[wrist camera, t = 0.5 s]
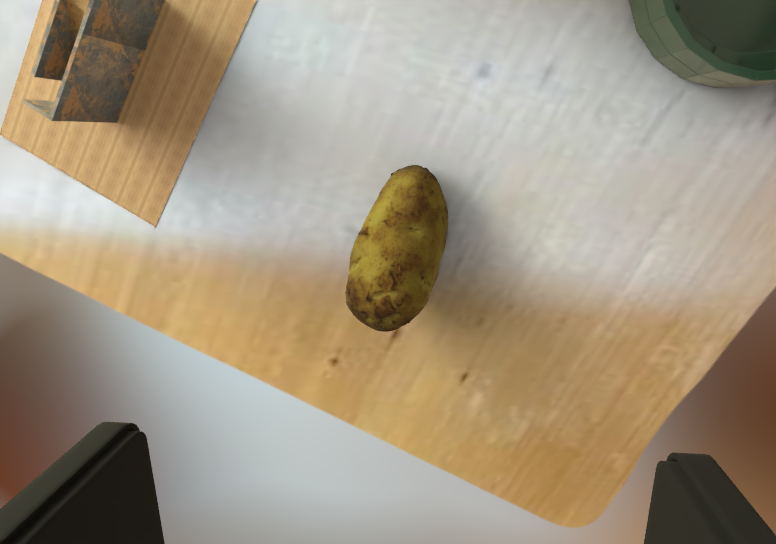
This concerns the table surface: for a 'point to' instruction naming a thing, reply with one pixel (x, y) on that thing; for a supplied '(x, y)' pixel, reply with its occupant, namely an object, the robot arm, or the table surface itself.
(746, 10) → the green round dish
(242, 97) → the table surface
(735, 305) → the table surface
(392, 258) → the potato
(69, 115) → the architectural model on board
